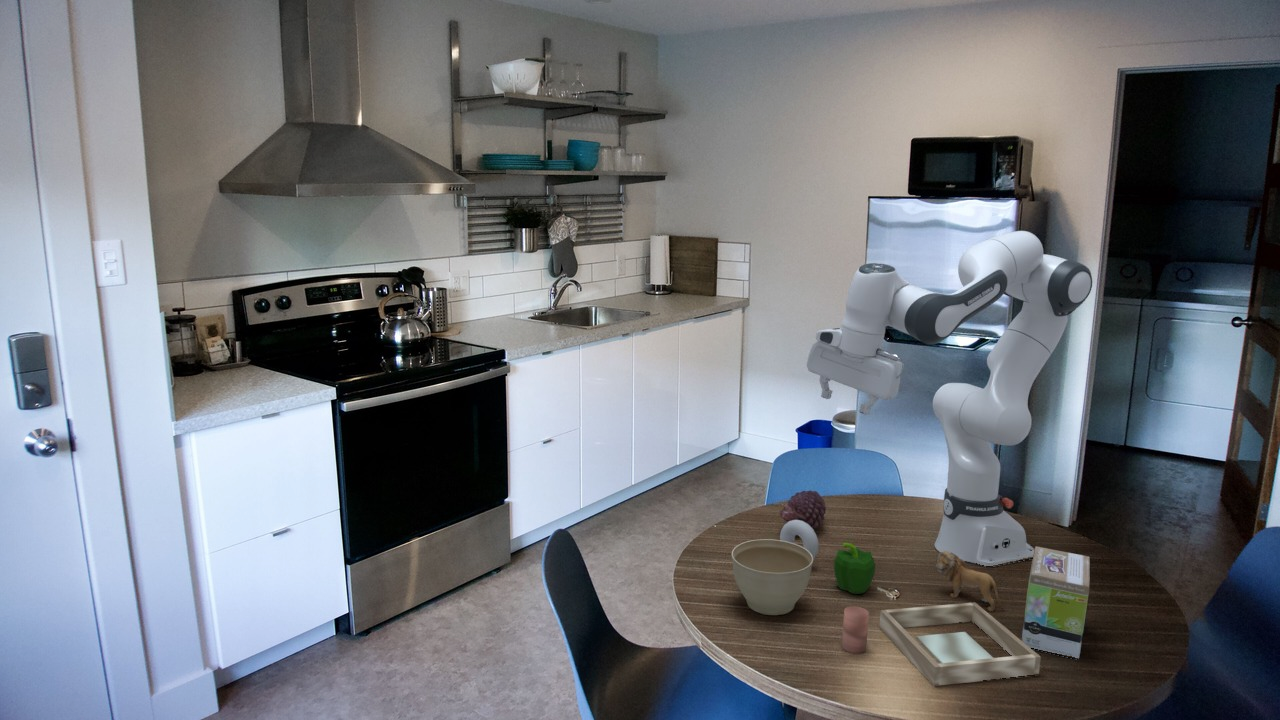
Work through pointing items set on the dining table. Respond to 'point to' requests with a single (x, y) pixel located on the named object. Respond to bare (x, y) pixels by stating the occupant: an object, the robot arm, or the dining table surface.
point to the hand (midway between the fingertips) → (844, 405)
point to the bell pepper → (854, 569)
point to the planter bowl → (771, 574)
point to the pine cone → (805, 508)
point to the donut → (800, 535)
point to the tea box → (1056, 601)
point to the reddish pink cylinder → (855, 629)
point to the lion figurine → (967, 577)
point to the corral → (958, 645)
